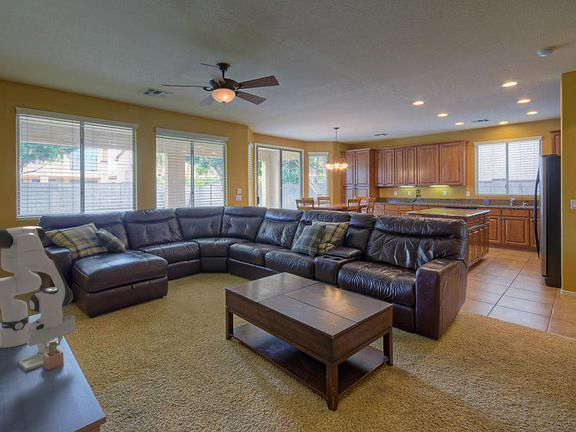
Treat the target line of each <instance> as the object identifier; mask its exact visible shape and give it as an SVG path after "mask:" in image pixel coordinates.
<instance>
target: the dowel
mask: <svg viewBox="0 0 576 432" xmlns="http://www.w3.org/2000/svg"><path fill="white" fill-rule="evenodd" d="M56 342H57V340H54V341H50V342H49V345H50V349H49V356H52V355H54V354H57V349H58V348H57V347H58V346H57V344H56Z"/></svg>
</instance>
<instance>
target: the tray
mask: <svg viewBox="0 0 576 432" xmlns="http://www.w3.org/2000/svg"><path fill="white" fill-rule="evenodd" d="M17 364H18V365H19V366H20V367H21V368H22V369H23V370H24V371H25V372H26V373H28V372H30V371H33V370H34V369H37V368H39V367H40V368H41V367H44V363H43V354H42V353H39V352H38V353H36V354H33V355H30V356H28V357H24V358H21V359H19V360H17Z"/></svg>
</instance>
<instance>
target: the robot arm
mask: <svg viewBox="0 0 576 432" xmlns="http://www.w3.org/2000/svg"><path fill="white" fill-rule="evenodd" d="M46 235H47V234H46V230H45V229H44V228H43V227H42V226H37V225H33V226H18V227H10V228H3V229H0V250H1V251H0V267H1V269H2V270H3V271H5V272H8V273H12V274H13V275H12V276H6V277H1V278H0V310H1V317H2V318H1V319H2V320H1V321H0V322H1V323H0V324H1V325H0V326H1V327H0V349H2V348H4V349H5V348H14V347H18V346H21V345H25V344H26V345H28V346H29V347H32V346H37V344H39V343H43V344H44V345H45V349H46V350H47V349H50V345H49V344H48V345H47V344H46V343H47V341H49V340H52V339H54V340H56V339H57V340H56V344H57V347H58V346H60V345H61V342H62V340H63V337H64V336H67V335H71V334H73V333H75V332H76V331H77V327H76V316H75V315H72V314H69V315H67V316H64V315H63V309H62V307H66V306H68V305H70V304H71V302H72V301H73V300H74V295H73V291H72V290H71V288H70V287H69V285H68V284H67V282H66V279H65V277H64V275H63V274H62V272H61V269H60V267H59V265H58V264H57V262H56V261H55V260H53V259H51V258H49V256H48V255H47V254H46V252H45V249H44V245H43V243H44V242H45V241H46V237H47V236H46ZM35 272H40V273H44V274H47V275H48V276H50V278H51V280H52V282H53V284H54V286H50V287H45V288H43V289H41V291H39V292H36V293H33V294H32V295H31V296H30V297H29V299H28V304H27V302H26V301H23V300H21V299H15V298H14V296H18V295H22V294H27V293H31V292H33V291H35V290H38V289H39V288H40V287H41V285H42V278H41V277H40V275H39V274H37V273H35ZM28 307H29V310H31V311H33V312H34V313H40V317H39V318H37V319H35V320H33V321H32V322H29V321H30V318H29V315H28Z"/></svg>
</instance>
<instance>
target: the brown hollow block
mask: <svg viewBox="0 0 576 432" xmlns="http://www.w3.org/2000/svg"><path fill="white" fill-rule="evenodd" d="M42 356H43V363H44V365H43V368H44V369H46V371H48V372H50V371H53V370H56V369H58V368H60V367H64V366H65V365H64V364H65V361H64V351H62V350H61V349H59V348H57V354H54V355H52V356H49V352H46V353H42Z"/></svg>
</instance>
